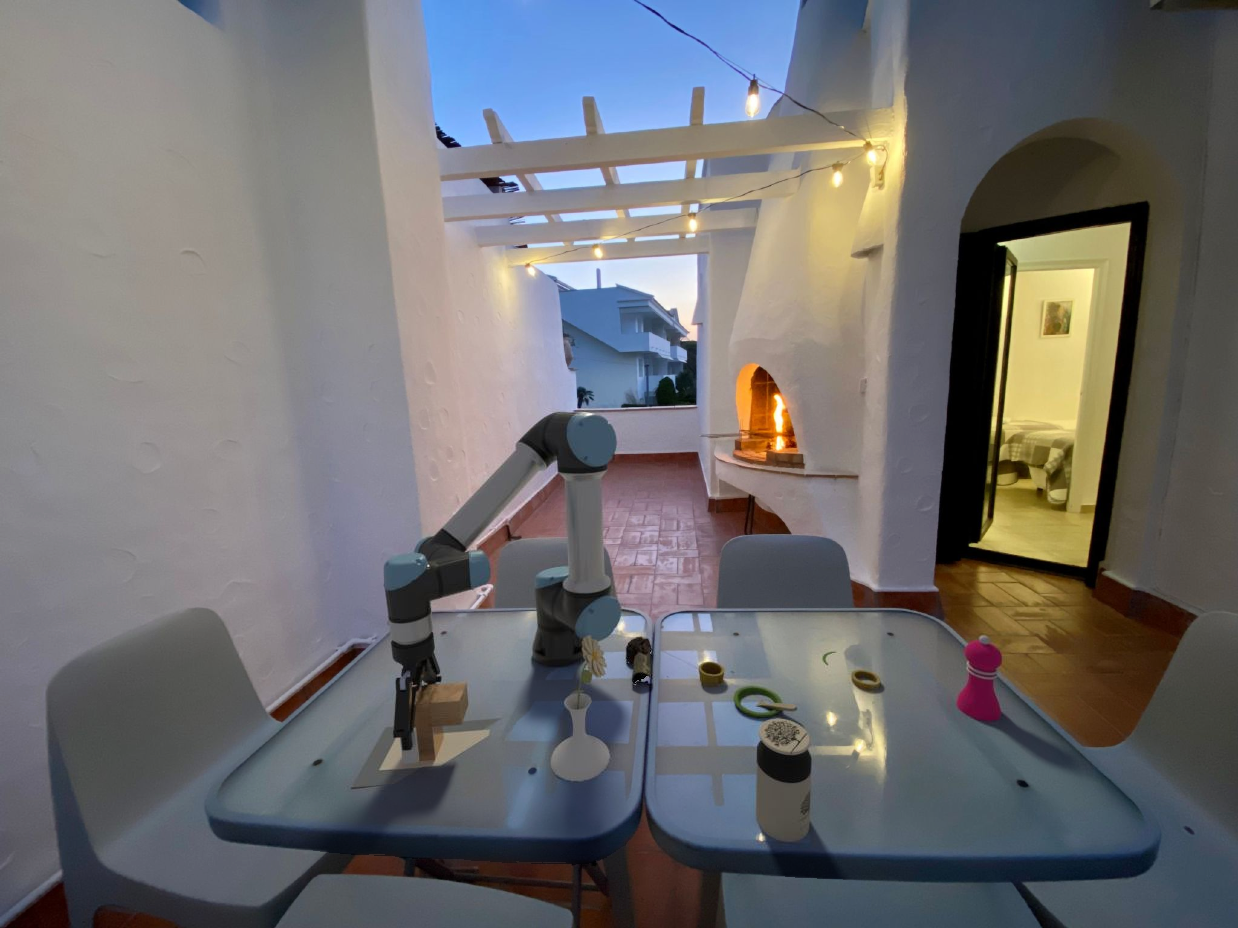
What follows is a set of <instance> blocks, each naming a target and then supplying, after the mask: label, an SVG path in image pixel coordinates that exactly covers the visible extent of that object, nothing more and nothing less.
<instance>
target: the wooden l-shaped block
mask: <svg viewBox="0 0 1238 928" xmlns="http://www.w3.org/2000/svg"><path fill="white" fill-rule="evenodd" d="M416 686H417V685H412V687H416ZM468 692H469V691H468V683H467V681H462V682H452V683H436V684H435V685H426V684H424V685H423V684H422V687H421V690H420V691H419V692H418V697H417V705H416V713H415V721H414V728H416V732H417V742H418V751H419V761H427V760H436V757H437V755H438V752H439V749H440V747H441V744H442V742H443V739H444V733H443V726H452V725H462V722H463V721H464V720H465V716H466V713H467V711H468V708H469V694H468Z"/></svg>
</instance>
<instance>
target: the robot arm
mask: <svg viewBox="0 0 1238 928" xmlns="http://www.w3.org/2000/svg"><path fill="white" fill-rule="evenodd" d="M617 443H618V441H617V434H616V432H615V429H614V426H613V425H612V424H611V423H610V421H609V420H608V419H607V418H606V417H605V416H602V415H601V414H597V413H592V412H588V411H587V412H586V411H570V412H569V411H555V412H552V413H550V414H548V415H546V416H544V417H543V418H541V419H540V420H538V422H536V423H535V424H533V426H532V427H531V428H530V429H528V431H526V432H525V434H523V436H522V437H520V439H519V440H517V442H516V443H515V450H514V451H513V452H512V453H511V454H510V455H509V456H508V457H507V459H506V460H505V461H504V462H503V463H502V464H501V465H500V466H499V467H498V468H497V469H496V470H495V471H494V472H493V473H492V474H491V475H490V476H489V478H488V479H487V480H485V482H483V483H482V485H481V486H480V487H479V488H478V489H477V490H476V491H475V492H474V493H473V495H471V496H470V497H469V498H468V500H466V502H465V503H464V504H463V505H462V506H461V507H460V508H459V509H458V510H457V511H456V512H455V513H454V514H453V516H451V518H449V520H448V521H447V522H446V523H445V524H444V525H443V526H442V527H441V528H440V529H439V530H438V532H436V533H435V534H434V535H430V536H426V537H424V538H422V539H421V540H419V541H418V542H417V544H416V545H415V547H414V551H413V552H410V553H400V554H397V555H395V556H392V557H391V558H389V559H387V560H386V561H385V563H384V565H383V587H384V592H385V600H386V609H387V617H388V619H387V621H386V625H387V626H389V635H390V639H391V641H390V645H391V646H390V647H391V655H392V659H393V661H394V662H395V663H398V664H400V665H401V666H402V668H401V674H400V676H401V677H396V679H395V681H394V682H395V702H394V704H395V705H394V716H393V717H394V722H393V727H394V731H393V737H394V738H400V742H401V751H402V760H403V764H407V763H418V762H419V751H418V742H417V732H416V728H414V721H415V713H416V705H417V697H418V692H419V691H420V690H421V687H422V685H423V682H424V684H425V685H435V684H437V683H442V679H443V678H442V676H441V675H440V674H441V669H440V668H441V667H440V666H439V663H438V660H437V658H436V654H435V648H436V646H435V635H434V632H433V631H434V622H433V613H432V606H431V603H432V601H435V600H436V601H437V600H440V599H443V598H446V597H450V596H453V595H457V594H461V593H464V592H467V591H474V590H475V589H477V588H480V587H483V586H486V585H487V584H488V583H489V582H490V579H491V577H492V569H491V562H490V560H489V557H488V555H487V554H486V552H484V551H483V550H482V549H474V550H470V549H469V548H470V547H471V546H472V545H473V544H474V543H475V541H477V539H479V537H480V536H481V535H482V534H483V533H484V531H486V530H487V529H488V528H489V526H490V525H491V524H492V523H493V522H494V521H495V519H497V518H498V516H499V515H500V514H501V513H502V512H503V511H504V510H505V509H506V507H508V506H509V504H510V503H512V501H513V500H514V498H516V497H517V496H518V495H519V494H520V492H521V491H522V490H523V489H524V488H525V487H526V486H527V485H528V483H529V482H531V480H532V479H533V478H534V477H535V476H536V475H537V474H538V472H539V471H541V472H543V471H546V470H547V469H548V468H549V467H550V466H551V465H552V464H553V463H555V462H556V463H557V464H556V467H557V473H558V474H559V475H560V476H561V477H562V478H563V479H564V494H565V495H564V496H565V497H564V499H565V515H566V517H565V519H566V538H567V539H566V541H567V542H566V544H567V560H568V561H567V563H568V565H567V566H566V565H565V566H557V567H551V568H547V569H544V570H542V571H540V572H538V573H537V574H536V576H535V578H534V594H535V609H536V622H537V625H536V626H537V628H536V632H535V636H534V639H533V643H532V649H531V651H532V652H531V653H532V659H533V661H535V662H536V663H537V664H538V665H541V666H544V667H550V668H564V667H569V666H572V665H576V664H577V663H579V662H580V660H581V659H582V660H584V659H583V658H584V657H583V651H582V647H583V645H582V641H583V638H584V637H585V638H586V636H588V635H590V636H591V638H592V639H594V640H595V639H596V640H597V642H598V643H599V642H601V641H603V640H605V639H607V638H608V637H609V636H610V635H612V634H613V632H614V630H615V629H616V628H617V626H618V625H619V623H620V621H621V616H622V606H621V603H620V601H619V600H618V599H617V597H615V596H613V595H612V581H611V578H610V577H609V576H608V575H606V574H605V552H604V551H605V549H604V547H605V546H604V517H603V516H604V515H603V491H602V490H603V489H602V487H603V486H602V485H603V483H602V477H603V476H604V475H605V474H606V473H607V472H608V463H609V462H610V461H611V460H612V459H613V455H615V454H616V452H617V451H616V450H617V446H618V445H617ZM468 549H469V550H468ZM582 660H581V661H582ZM578 661H579V662H578ZM576 662H577V663H576ZM412 686H416V687H412Z"/></svg>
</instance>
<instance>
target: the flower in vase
mask: <svg viewBox="0 0 1238 928" xmlns="http://www.w3.org/2000/svg"><path fill="white" fill-rule="evenodd" d="M598 643H599V642H597V640H596V639H595V640H594V639H592V638H591V636H590V635H588V636H586V638H585V637H584V638H583V641H582V645H583V647H582V651H583V657H584V659H583V660H584V664H583V667H582V670H581V673H580V676H579V677H580V678H579V683H578V685H579V686H578V690H575V691H572V692H571V693H569V694H570V695H569V696H567V697H566V698H565V699H564V706H565V708H566V709H567V710H568V711H569V714H570V716H571V719H572V736H570V737H567V738H566V739H564V740H562V742H561V743H559V745H557V746H556V747H555V749H554V750H553V752H552V755H551V757H550V768H552V769H551V771H552V770H553V771H554V772H555V773H554V772H553V771H552V772H553V773H554V774H555V776H557V775H558V776H559V777H561V778H564V779H567V780H571V781H570V782H573V781H578V782H585V781H588V780H591V779H593V778H596V777H597V776H599V775H600V774H601V772H602V771H603V772H604V771H605V770H606V769H607V767H608V766H607V765H609V764H608V763H610V761H609V759H610V760H611V753H609V752H610V751H609V748H608V745H606V744H605V743H604V742H603V741H602V740H601V739H599V738H597V737H595V736H593V735H590V734H587V732H586V715H587V710H588V708H589V707H590V706H591V704H592V697H591V696H589V695H588V694H587V693H583V692H584V691H585V690H582V689H581V688H582V683H584V684H585V685H590V683H591V682H592V679H593V676H594V677H595V678H596V679H598V678H599V679H601V678H602V677H604V676H605V675H606V671H605V668H607V667H608V664H607V662H606V658H605V657H604V655H605V652H604V650H603V649H601V645H600V644H598ZM586 666H587V669H586ZM606 766H607V767H606ZM604 769H605V770H604ZM603 772H602V773H603ZM558 776H557V777H558ZM559 777H558V778H559ZM561 778H560V779H561ZM564 779H563V780H564ZM567 780H566V781H567ZM584 780H585V781H584Z"/></svg>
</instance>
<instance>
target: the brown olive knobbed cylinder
mask: <svg viewBox="0 0 1238 928" xmlns="http://www.w3.org/2000/svg"><path fill="white" fill-rule="evenodd" d="M625 647H626V648H625V660H626V662H629V663H630V665H631V664H633V665H632V668H633V669H632V674H631V682H632V685H634V684H636V683H635V682H636V681H637V680H639V681H641V679H644V678H645V677H646V676H649V677H650V678H651V674H652V663H651V655H650V652H651V650H652V651H653V649H652V644H651V641H650V639H649V638H648V637H646V638H643V637H642V636H636V637H634V638H632V639H631V640H630V641H628V642H627V645H626V646H625ZM629 663H628V664H629Z"/></svg>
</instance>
